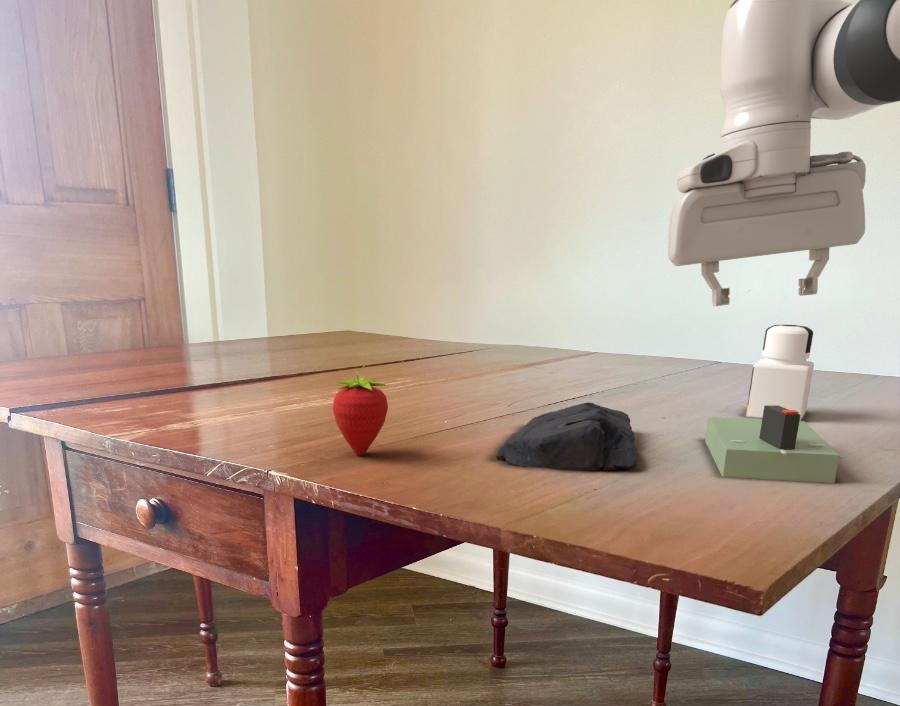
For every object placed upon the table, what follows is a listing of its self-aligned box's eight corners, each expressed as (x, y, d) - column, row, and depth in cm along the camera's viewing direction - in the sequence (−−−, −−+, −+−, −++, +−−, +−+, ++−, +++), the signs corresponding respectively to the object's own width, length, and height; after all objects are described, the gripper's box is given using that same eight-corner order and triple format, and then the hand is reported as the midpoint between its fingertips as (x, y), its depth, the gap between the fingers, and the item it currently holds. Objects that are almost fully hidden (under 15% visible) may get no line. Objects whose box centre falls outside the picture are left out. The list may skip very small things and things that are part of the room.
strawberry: (393, 449, 99) (392, 358, 95) (382, 465, 92) (380, 368, 88) (342, 447, 99) (339, 357, 95) (327, 463, 92) (323, 367, 88)
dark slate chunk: (645, 433, 109) (649, 394, 107) (635, 476, 89) (639, 430, 87) (524, 425, 112) (526, 387, 110) (489, 465, 92) (491, 421, 90)
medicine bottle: (752, 409, 125) (766, 321, 120) (805, 414, 122) (821, 324, 117) (745, 417, 119) (758, 326, 114) (800, 422, 116) (816, 329, 111)
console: (800, 446, 103) (804, 419, 102) (837, 486, 86) (843, 455, 85) (704, 441, 105) (708, 415, 103) (723, 480, 88) (728, 449, 87)
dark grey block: (759, 438, 92) (764, 403, 91) (773, 438, 93) (779, 403, 91) (779, 449, 88) (785, 412, 86) (794, 449, 88) (801, 412, 87)
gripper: (853, 153, 93) (849, 288, 98) (662, 178, 95) (666, 310, 99) (879, 144, 87) (872, 288, 92) (674, 170, 89) (678, 312, 93)
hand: (764, 300), depth 96 cm, fingers open, 8 cm apart
